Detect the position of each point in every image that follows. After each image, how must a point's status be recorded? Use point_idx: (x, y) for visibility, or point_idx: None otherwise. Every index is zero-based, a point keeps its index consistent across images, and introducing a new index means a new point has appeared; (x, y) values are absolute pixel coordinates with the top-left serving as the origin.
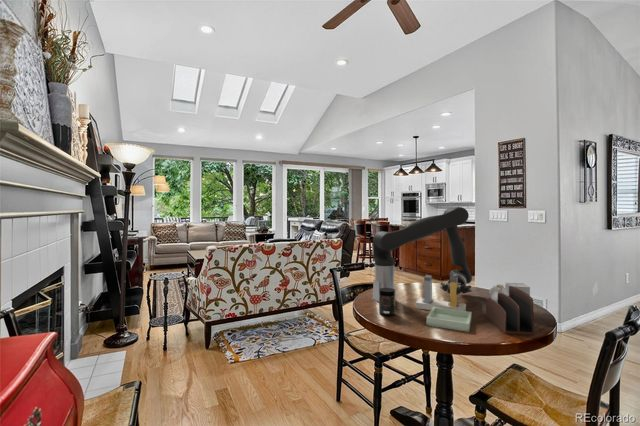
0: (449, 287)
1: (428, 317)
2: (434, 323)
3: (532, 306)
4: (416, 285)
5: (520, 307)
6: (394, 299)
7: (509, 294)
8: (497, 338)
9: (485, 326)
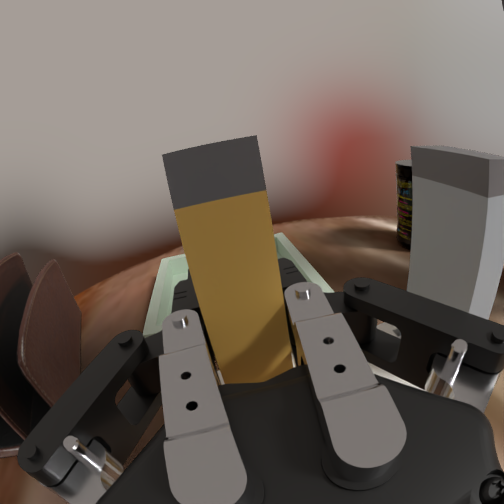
0: (282, 270)
1: (277, 234)
2: None
3: None
4: None
5: None
6: (400, 194)
7: None
8: (108, 287)
9: (116, 329)
